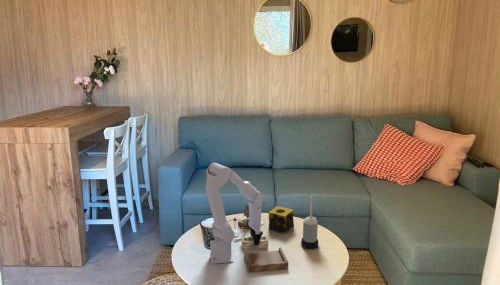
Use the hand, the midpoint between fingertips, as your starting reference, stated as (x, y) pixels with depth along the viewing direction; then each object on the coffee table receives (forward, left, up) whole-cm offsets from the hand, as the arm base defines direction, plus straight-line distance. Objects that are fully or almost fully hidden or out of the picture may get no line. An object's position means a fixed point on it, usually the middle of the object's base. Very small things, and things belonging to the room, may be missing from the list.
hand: (255, 241), depth 180 cm
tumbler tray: (0, 0, -3) cm, 3 cm away
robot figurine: (0, +23, -3) cm, 23 cm away
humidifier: (+26, -4, -3) cm, 26 cm away
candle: (+17, +16, -3) cm, 23 cm away
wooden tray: (+2, -16, -2) cm, 16 cm away
